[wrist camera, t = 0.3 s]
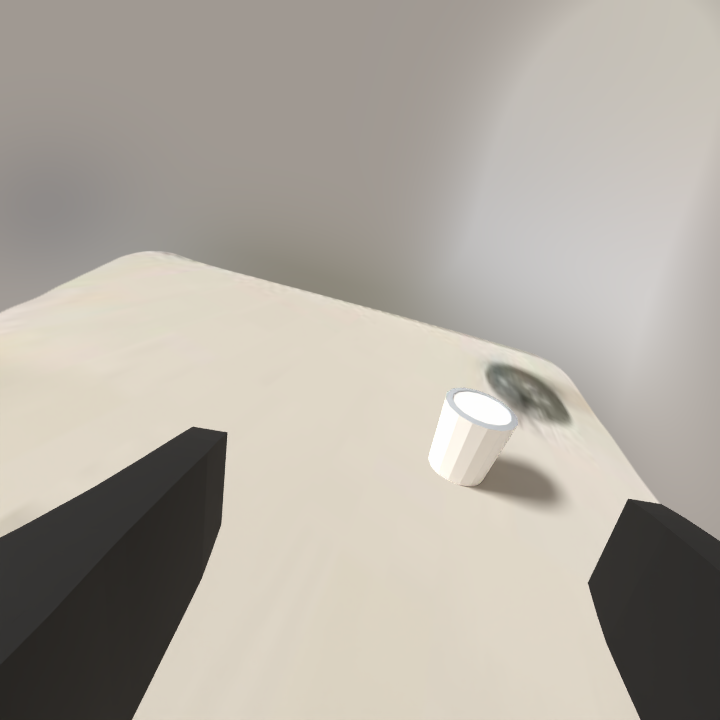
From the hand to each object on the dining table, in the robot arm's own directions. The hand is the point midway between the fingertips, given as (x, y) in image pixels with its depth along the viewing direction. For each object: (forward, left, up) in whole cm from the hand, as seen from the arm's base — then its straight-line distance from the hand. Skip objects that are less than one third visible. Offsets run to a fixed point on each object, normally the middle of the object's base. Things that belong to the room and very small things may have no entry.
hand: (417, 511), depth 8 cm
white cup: (+31, -11, -21) cm, 39 cm away
